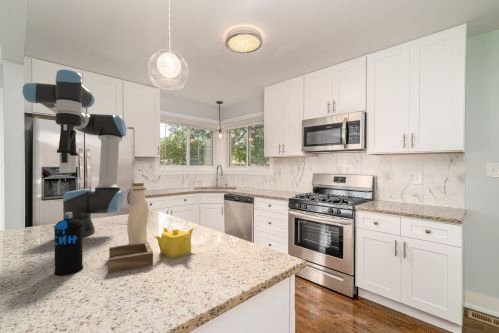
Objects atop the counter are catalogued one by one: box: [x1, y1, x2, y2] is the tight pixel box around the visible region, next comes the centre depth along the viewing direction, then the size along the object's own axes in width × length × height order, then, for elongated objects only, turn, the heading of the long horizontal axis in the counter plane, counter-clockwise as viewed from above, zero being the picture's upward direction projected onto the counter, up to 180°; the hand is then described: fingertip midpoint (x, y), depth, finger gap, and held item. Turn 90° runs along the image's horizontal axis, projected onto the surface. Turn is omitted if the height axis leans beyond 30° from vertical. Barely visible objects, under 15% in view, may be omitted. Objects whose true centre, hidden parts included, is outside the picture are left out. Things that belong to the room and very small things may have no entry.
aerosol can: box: [53, 212, 84, 277], centre depth 84 cm, size 8×8×20 cm
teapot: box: [153, 227, 196, 259], centre depth 101 cm, size 15×14×10 cm
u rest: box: [108, 241, 154, 274], centre depth 91 cm, size 14×14×4 cm
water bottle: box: [126, 182, 150, 245], centre depth 112 cm, size 10×9×28 cm
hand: (68, 172), depth 88 cm, fingers open, 13 cm apart
